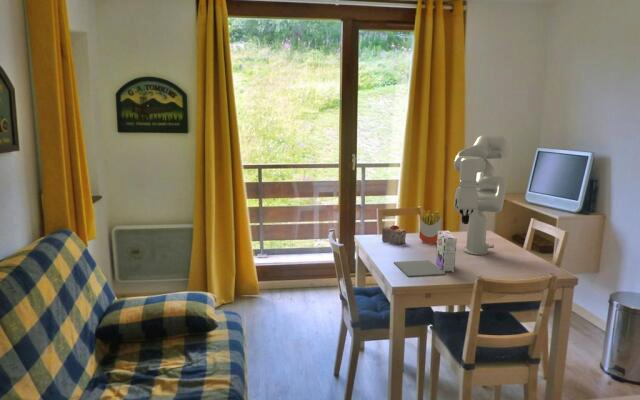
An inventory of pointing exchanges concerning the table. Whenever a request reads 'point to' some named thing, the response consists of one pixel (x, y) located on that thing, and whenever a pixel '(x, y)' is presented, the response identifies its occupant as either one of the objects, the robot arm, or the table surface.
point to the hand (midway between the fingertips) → (465, 223)
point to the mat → (419, 268)
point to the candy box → (446, 251)
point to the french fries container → (430, 227)
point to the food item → (393, 235)
